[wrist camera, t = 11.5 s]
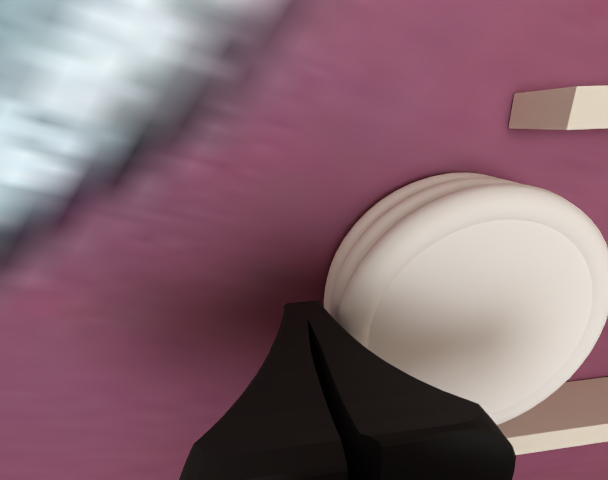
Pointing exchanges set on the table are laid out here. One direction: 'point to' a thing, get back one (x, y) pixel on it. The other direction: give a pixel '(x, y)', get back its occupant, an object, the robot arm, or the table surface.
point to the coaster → (474, 288)
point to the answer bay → (576, 394)
